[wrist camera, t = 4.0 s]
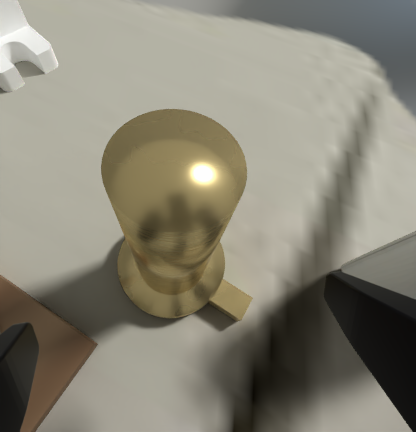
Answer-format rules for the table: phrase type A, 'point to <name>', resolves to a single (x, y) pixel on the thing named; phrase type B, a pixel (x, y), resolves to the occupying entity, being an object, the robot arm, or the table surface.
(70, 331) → the base plate
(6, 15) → the white phone stand
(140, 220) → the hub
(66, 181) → the table surface
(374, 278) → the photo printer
